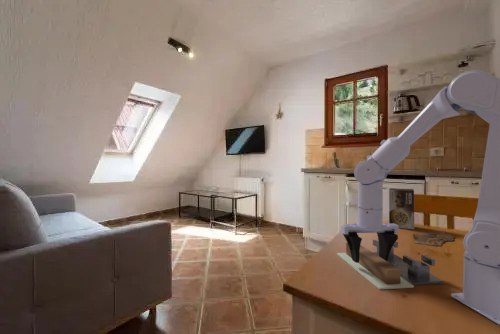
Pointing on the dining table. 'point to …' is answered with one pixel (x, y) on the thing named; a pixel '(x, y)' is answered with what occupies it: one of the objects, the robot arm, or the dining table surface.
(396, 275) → the rail
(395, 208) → the coffee box
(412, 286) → the mat
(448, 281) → the dining table surface
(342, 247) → the dining table surface
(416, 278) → the rack
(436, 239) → the wooden fragment
